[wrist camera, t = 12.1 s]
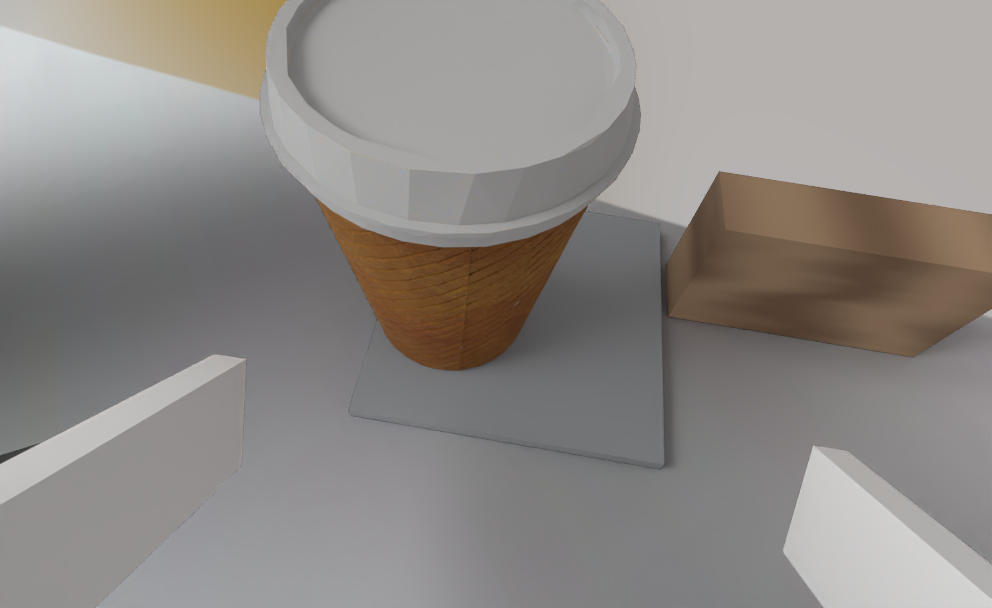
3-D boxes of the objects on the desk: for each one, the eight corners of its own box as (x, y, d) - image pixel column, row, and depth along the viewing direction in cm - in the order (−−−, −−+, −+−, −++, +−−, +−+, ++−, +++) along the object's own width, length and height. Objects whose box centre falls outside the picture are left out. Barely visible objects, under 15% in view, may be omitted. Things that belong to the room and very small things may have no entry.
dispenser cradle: (639, 714, 16) (725, 749, 11) (641, 260, 25) (688, 166, 20) (1087, 798, 16) (1391, 874, 11) (921, 305, 25) (1038, 222, 20)
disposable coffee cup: (407, 458, 19) (361, 268, 9) (302, 270, 23) (183, -14, 13) (607, 337, 22) (742, 97, 12) (486, 190, 26) (510, -88, 16)
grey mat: (350, 415, 20) (348, 409, 20) (421, 193, 27) (421, 184, 26) (659, 469, 20) (664, 464, 20) (655, 231, 27) (659, 223, 26)
